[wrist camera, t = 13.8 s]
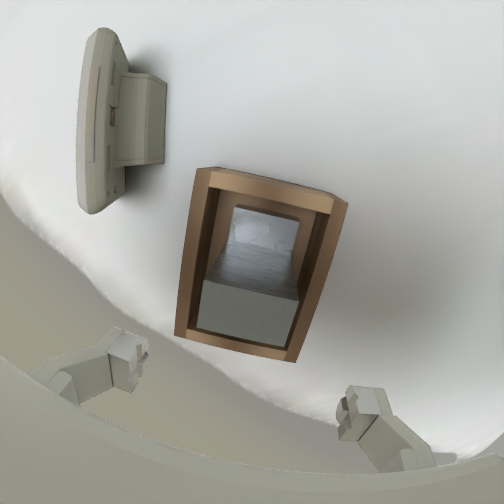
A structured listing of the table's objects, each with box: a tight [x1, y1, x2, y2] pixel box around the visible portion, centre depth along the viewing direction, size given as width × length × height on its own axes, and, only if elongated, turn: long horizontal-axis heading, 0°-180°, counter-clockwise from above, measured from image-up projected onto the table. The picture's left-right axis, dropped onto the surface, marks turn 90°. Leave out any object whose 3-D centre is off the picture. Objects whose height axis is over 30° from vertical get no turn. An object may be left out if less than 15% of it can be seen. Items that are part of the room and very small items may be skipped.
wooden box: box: [174, 167, 348, 363], centre depth 23 cm, size 10×13×6 cm
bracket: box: [197, 204, 300, 347], centre depth 20 cm, size 5×8×10 cm, turn 168°
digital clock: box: [76, 28, 167, 214], centre depth 19 cm, size 14×8×9 cm, turn 167°
